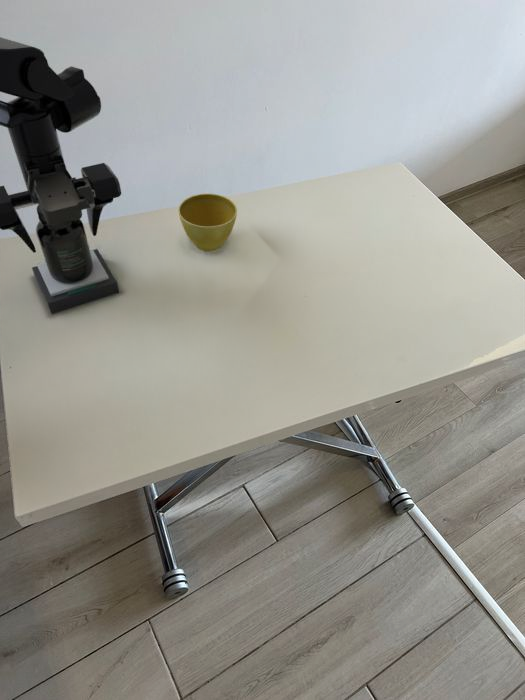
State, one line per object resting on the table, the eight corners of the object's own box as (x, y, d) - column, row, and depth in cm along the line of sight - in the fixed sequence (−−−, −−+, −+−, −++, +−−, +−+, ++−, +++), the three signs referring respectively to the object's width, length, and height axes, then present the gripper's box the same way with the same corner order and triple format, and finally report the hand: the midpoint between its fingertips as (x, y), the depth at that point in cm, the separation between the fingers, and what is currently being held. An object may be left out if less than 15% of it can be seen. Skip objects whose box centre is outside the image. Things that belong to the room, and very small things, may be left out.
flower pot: (246, 251, 96) (247, 217, 90) (194, 266, 92) (192, 232, 87) (222, 221, 101) (221, 188, 96) (172, 235, 98) (169, 201, 93)
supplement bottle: (47, 261, 87) (27, 197, 78) (90, 254, 89) (74, 190, 80) (52, 288, 83) (30, 223, 74) (97, 279, 84) (81, 215, 75)
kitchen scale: (51, 314, 83) (46, 300, 81) (35, 278, 88) (30, 264, 86) (119, 292, 87) (116, 278, 85) (99, 259, 92) (96, 245, 90)
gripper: (-26, 194, 62) (14, 293, 74) (126, 159, 69) (141, 254, 80) (-43, 150, 68) (-4, 248, 80) (98, 122, 75) (116, 216, 87)
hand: (64, 242), depth 82 cm, fingers open, 9 cm apart
